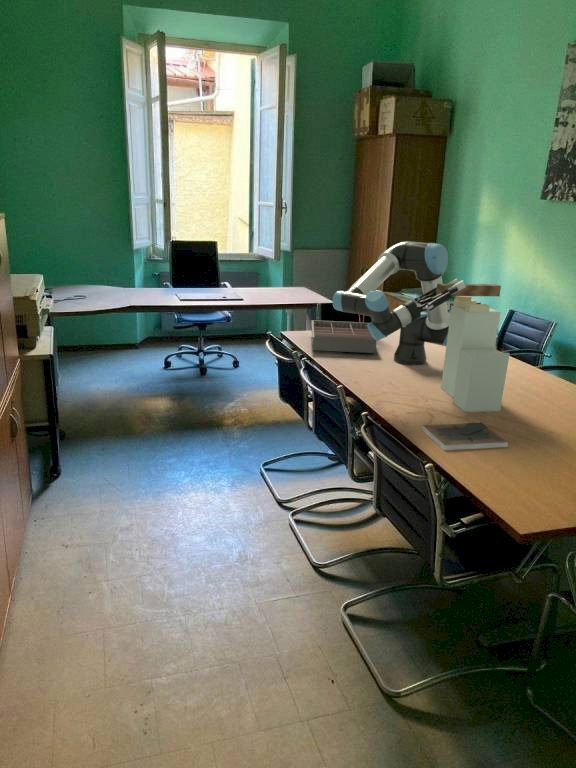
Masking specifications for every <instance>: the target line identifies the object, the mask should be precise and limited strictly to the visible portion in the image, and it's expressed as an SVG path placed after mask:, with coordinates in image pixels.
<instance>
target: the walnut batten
mask: <svg viewBox="0 0 576 768" xmlns="http://www.w3.org/2000/svg"><path fill="white" fill-rule="evenodd" d="M453 285H455V284H448V283H443V284H437V289H436V294H437V295H438V294H440V293H442V292H444V291H447V289H448V288H450V287H452V286H453ZM465 286H466V287H465V288H463V289H461V290H460V291H458V292H456V293H454V294H453V295H451V296H452V297H456V296H470V297H500V294H501V288H502V285H500V284H497V283H496V284H495V283H494V284H493V283H465Z"/></svg>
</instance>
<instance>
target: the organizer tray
mask: <svg viewBox="0 0 576 768" xmlns="http://www.w3.org/2000/svg"><path fill="white" fill-rule="evenodd" d="M310 321H311V339H312V340H311V341H312V351H322V352H323V351H326V352H336V353H338V352H344V353H345V352H348V353H365V354H366V353H369V354H376V353H377V352H376V351H377V342H378V341H377V340H375V339H374V338H373V337H372V336H371V334H370V332H369V330H368V324H369V323H370V322H364V323H363V322H361V321H358V322H357V321H356V322H355V321H335V320H318V319H317V320H314V319H313V320H312V319H311V320H310Z"/></svg>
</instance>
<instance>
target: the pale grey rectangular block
mask: <svg viewBox="0 0 576 768" xmlns="http://www.w3.org/2000/svg"><path fill="white" fill-rule="evenodd" d="M510 354H511V353H510V352H501V351H500V350H498V349H497V346H496V345H495V346H476V347H460V353H459V360H458V367H457V374H456V382H455V389H454V396H453V397H452V404H454V405H455V406H456V407H458V408H459V409H460V410H462V411H463V412H464V413H477V412H480V413H481V412H500V411H501V406H502V402H503V401H502V400H503V395H504V391H505V390H504V389H505V383H506V377H507V372H508V365H509V359H510Z"/></svg>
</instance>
